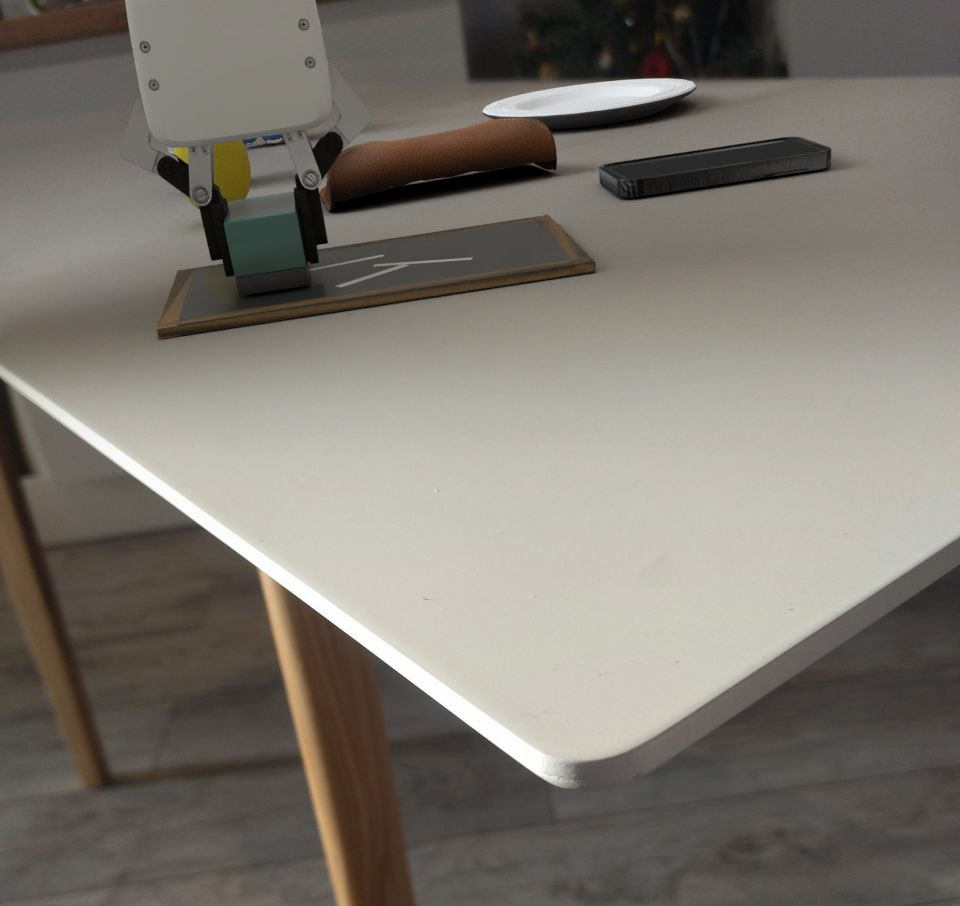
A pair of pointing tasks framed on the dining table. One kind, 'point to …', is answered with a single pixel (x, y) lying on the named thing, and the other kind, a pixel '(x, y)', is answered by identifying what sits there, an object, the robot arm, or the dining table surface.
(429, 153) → the sunglasses case
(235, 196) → the lemon
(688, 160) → the phone
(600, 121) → the plate
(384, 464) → the dining table surface
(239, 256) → the eraser
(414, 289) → the slate board
